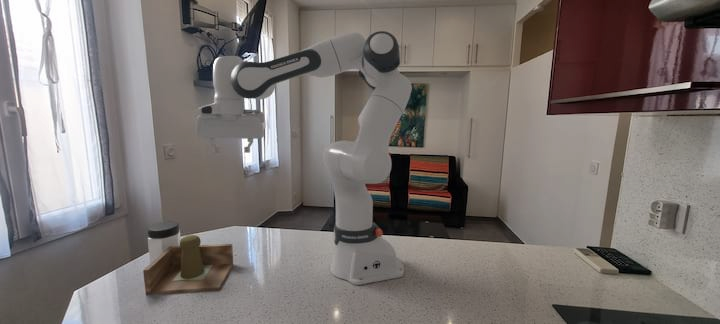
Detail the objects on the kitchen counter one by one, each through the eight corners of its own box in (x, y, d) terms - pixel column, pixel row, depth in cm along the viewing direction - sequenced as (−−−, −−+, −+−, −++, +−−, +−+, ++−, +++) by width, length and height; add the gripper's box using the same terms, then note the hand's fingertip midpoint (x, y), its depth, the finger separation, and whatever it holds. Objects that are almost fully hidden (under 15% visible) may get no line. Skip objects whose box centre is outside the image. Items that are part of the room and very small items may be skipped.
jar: (154, 257, 97) (151, 222, 95) (183, 253, 100) (180, 219, 98) (147, 271, 89) (143, 232, 87) (179, 266, 92) (176, 229, 90)
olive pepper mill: (175, 277, 84) (171, 240, 82) (190, 266, 90) (188, 231, 88) (194, 279, 83) (191, 242, 81) (208, 268, 89) (206, 233, 87)
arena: (233, 264, 94) (232, 243, 93) (219, 289, 80) (217, 266, 79) (171, 267, 91) (169, 246, 90) (145, 294, 77) (143, 270, 76)
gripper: (265, 110, 100) (266, 151, 102) (199, 108, 97) (202, 151, 99) (262, 109, 93) (263, 153, 95) (192, 108, 90) (195, 153, 92)
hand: (232, 152), depth 97 cm, fingers open, 8 cm apart
